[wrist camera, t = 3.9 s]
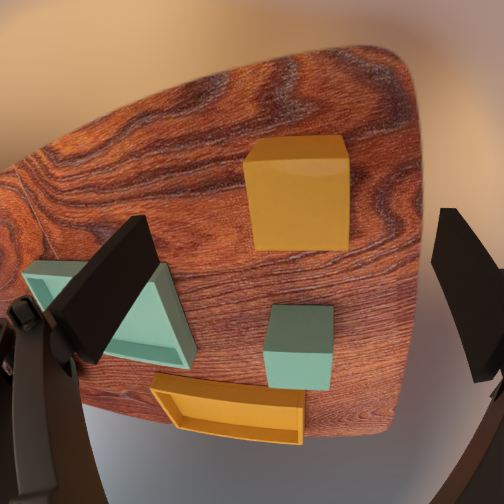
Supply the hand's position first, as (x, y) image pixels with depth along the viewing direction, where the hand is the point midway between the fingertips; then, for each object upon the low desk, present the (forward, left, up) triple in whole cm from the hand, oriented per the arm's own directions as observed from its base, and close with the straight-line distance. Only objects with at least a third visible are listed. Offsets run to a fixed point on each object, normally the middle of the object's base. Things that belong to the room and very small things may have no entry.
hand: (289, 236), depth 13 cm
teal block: (0, +13, -8) cm, 15 cm away
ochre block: (0, 0, -8) cm, 8 cm away
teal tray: (+20, +12, -8) cm, 25 cm away
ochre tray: (+9, +29, -8) cm, 32 cm away
